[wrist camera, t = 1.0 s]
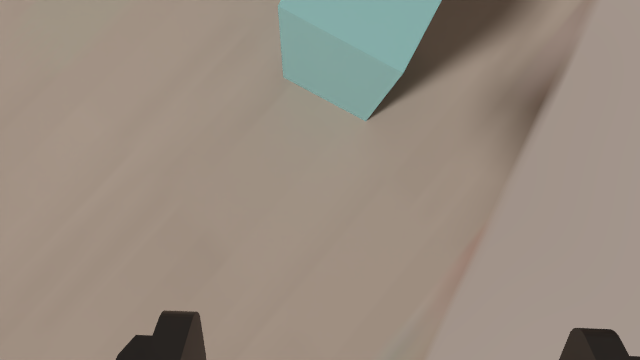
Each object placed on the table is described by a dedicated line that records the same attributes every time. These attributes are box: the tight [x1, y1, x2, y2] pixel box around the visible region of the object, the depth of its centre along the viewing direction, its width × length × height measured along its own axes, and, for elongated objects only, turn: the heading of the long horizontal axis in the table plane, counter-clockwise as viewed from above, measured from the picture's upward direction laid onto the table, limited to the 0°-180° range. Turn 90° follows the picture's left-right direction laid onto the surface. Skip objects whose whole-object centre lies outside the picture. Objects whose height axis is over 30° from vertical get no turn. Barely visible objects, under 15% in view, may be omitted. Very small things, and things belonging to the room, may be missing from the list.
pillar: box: [278, 0, 442, 121], centre depth 24 cm, size 5×5×10 cm
